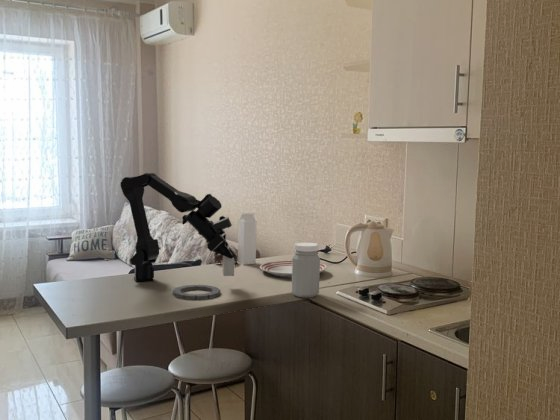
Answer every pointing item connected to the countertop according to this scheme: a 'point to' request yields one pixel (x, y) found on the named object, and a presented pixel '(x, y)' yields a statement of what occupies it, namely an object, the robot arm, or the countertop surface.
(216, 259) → the pottery mug
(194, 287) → the ring
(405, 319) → the countertop surface
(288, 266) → the dinner plate
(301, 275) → the jar
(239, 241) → the milk
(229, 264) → the tea bag
